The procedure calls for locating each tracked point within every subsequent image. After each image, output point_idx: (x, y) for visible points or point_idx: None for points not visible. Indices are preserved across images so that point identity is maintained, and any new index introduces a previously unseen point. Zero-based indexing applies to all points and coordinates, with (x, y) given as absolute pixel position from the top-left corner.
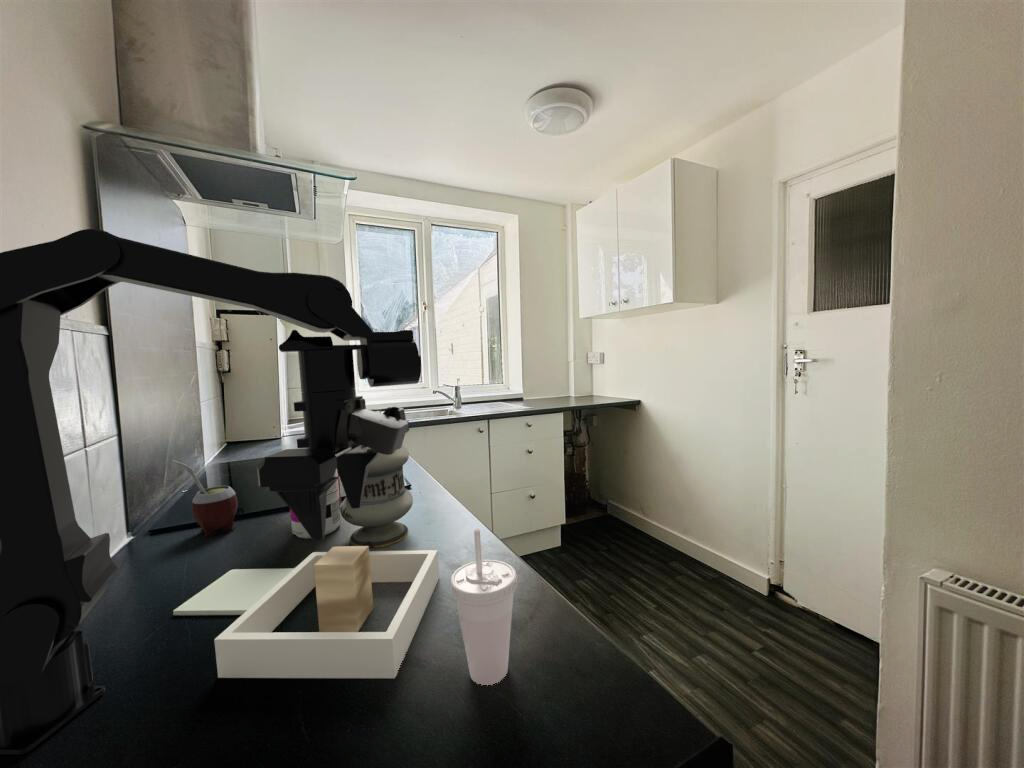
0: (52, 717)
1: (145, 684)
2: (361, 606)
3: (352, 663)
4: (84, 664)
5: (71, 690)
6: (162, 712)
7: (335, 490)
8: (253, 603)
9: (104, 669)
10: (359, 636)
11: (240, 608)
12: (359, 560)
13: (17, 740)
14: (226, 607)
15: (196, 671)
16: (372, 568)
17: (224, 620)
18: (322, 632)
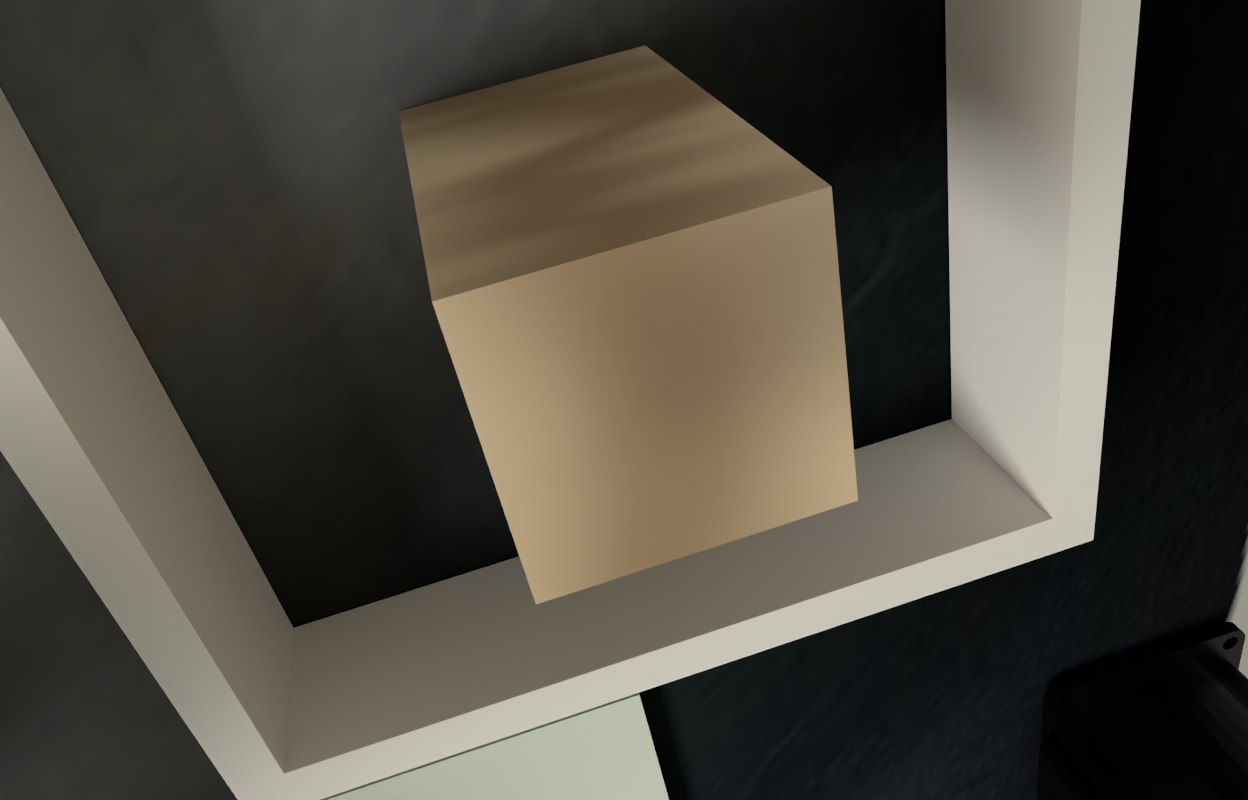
0: (1187, 676)
1: (1013, 622)
2: (595, 94)
3: None
4: (1116, 793)
5: (1166, 722)
6: (1126, 457)
7: None
8: (591, 722)
9: (953, 783)
10: None
11: (635, 734)
12: (665, 217)
13: (1222, 671)
14: (642, 783)
15: None
16: (105, 372)
17: (685, 724)
18: (1084, 45)
